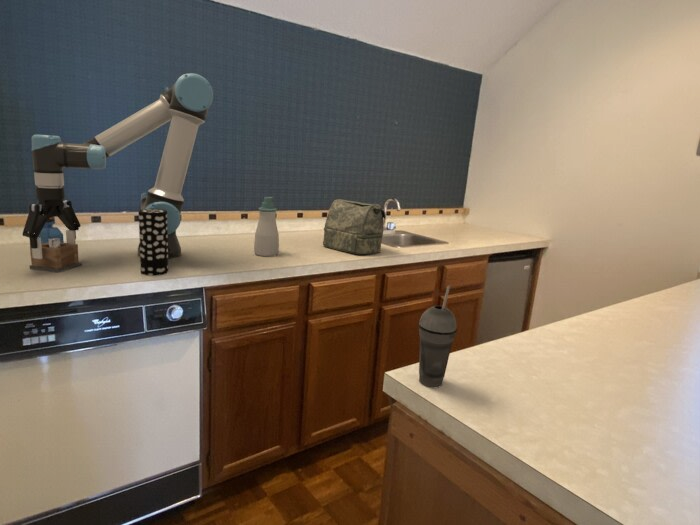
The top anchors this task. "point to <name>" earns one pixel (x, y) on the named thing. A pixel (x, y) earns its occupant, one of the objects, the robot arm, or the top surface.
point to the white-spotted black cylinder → (153, 241)
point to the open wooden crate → (57, 255)
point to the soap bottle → (267, 230)
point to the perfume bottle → (50, 232)
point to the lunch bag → (354, 227)
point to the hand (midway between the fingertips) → (55, 253)
